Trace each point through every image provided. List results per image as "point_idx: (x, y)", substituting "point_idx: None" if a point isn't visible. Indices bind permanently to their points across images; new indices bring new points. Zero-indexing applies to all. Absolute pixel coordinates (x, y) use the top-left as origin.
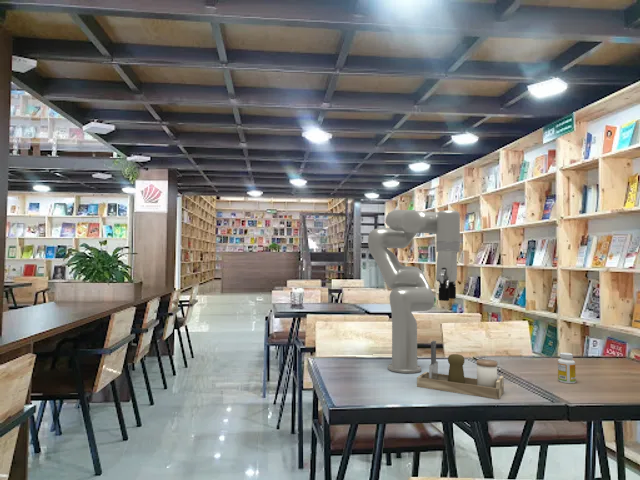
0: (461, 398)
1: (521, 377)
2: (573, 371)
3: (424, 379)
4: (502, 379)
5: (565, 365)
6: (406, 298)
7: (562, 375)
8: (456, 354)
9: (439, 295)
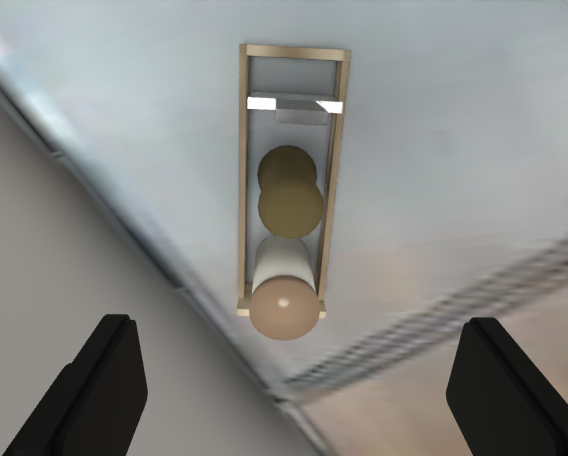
0: (191, 207)
1: (512, 314)
2: None
3: (239, 77)
4: None
5: None
6: None
7: None
8: (295, 215)
9: (81, 357)
